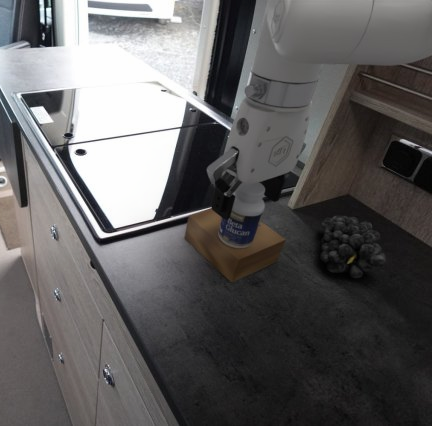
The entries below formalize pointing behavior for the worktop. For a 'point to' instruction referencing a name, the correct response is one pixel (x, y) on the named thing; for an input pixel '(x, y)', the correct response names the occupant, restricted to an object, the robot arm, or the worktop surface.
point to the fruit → (350, 246)
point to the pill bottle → (243, 216)
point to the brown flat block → (229, 256)
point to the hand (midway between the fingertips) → (245, 205)
